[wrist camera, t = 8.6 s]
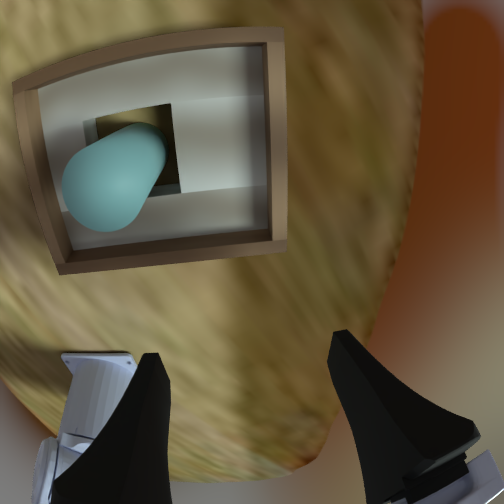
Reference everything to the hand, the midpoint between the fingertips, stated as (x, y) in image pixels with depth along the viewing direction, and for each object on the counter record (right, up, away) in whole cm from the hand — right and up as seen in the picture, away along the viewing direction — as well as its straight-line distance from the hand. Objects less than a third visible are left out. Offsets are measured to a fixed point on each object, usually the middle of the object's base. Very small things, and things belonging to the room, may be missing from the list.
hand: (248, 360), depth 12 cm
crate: (-5, +11, +4) cm, 13 cm away
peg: (-6, +10, +4) cm, 13 cm away
